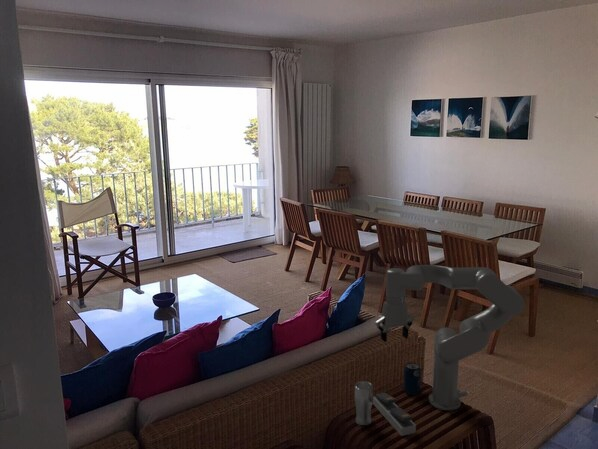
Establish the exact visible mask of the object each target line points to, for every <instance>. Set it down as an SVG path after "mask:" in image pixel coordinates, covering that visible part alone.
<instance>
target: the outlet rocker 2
mask: <svg viewBox="0 0 598 449" xmlns="http://www.w3.org/2000/svg"><path fill="white" fill-rule="evenodd" d="M390 412H391V413H392V414H394V415H395V416H396V417H398V418H399V419H400V420H402V421H403V422H405V421H410V420H411V421H413V420H414V416H413V415H411V414H410V413H408V412H407V411H405V410H404V409H403V408H401V407H400V406H398V407H397V408H392V409H390Z"/></svg>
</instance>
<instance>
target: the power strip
mask: <svg viewBox="0 0 598 449" xmlns="http://www.w3.org/2000/svg"><path fill="white" fill-rule="evenodd" d="M372 405H374V407H375V408H376V409H377V411H379V413H380V414H382V415H383V417H384V418H385V420H386V421H387V422H388V423H389V424H390V425H391V426H392V428H393V429H395V431H396V432H397V433H398V434H399V435H400V436H401V437H403V436H409V435H412V434H416V432H417V425H416V424H415V423H414V422H413V420H410V421H405V422H403V421H402V420H400V419H399V418H398V417H396V416H395V415H394V414H392V413H391V412H390V409H392V408H397V407H399V406H398V405H397V404H396V402H395V403H390V404H387V403H385V402H383V401H382V400H380V399H378V398H376V395H375V396H373V401H372Z"/></svg>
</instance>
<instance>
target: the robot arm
mask: <svg viewBox="0 0 598 449" xmlns="http://www.w3.org/2000/svg"><path fill="white" fill-rule="evenodd" d="M385 276H386V277H385V281H386V282H385V301H383V305H382V309H381V316H380V318H379V319H378V320H376V321H375V322H374V323H375V326H376V328H377V329H378V330H379V331H380V339H381V340H382V341H383V342H384V343H386V342H387V341H388V340H387V339H388V338H387V336H388V335H387V334H388V333H387V330H388V329H389V328H390V329H391V328H397V327H399V328H400V327H402V333H401V334H402V337H403V338H405V339H406V340H407V339H409V338H408V337H409V330H410V327H411V326H412V325H413V322H414V320H415V317H414V316H413V315H410V314H409V313H408V306H407V301H406V299H407V298H408V295H407V294H406V290H411V291H419V290H422V289H423V288H424V287H425V285H426V283H433V284H438V285H441V286H444V287H446V288H448V289H450V290H478V292H479V293H480V294H481V295H482V296H483V297H484V298H486V300H488V301H489V302H490V303H491V305H490V306H489V307H488V308H487V309H484V310H483V311H481V312H479V313H477V314H476V313H475V315H472V316H470V317H468V318H466V319H463V321H462V322H461V323H460V324H459V332H458V333H457V332H456V330H454V329H452V328H450V327H441V328H439V329H438V330H437V331H436V332H435V334H434V337H433V338H434V339H433V373H432V374H433V379H432V393H430V394H429V396H428V403H429V404H430V405H431V406H432V407H434V408H435V409H438V410H442V411H454V410H458V409H460V407H461V404H462V402H461V398H462V397H463V398H464V397H467V396H468V393H467V391H466V390H464V391H461V390H460V389H458V382H459V380H458V378H459V361H462V360H464V359H466V358H468V357H470V356H473V355H475V354H477V353H479V352H480V351H482V350H483V349H485V348H487V346H488V344H489V338H490V336H489V334H492V333H494V332H496V331H498V330H500V329H502V328H503V327H504V326H506V325H507V324H508V323H509V321H510V320H511V319H512V317H513V316H518V315H520V314H521V313H522V312H523V311H524V309H525V302H524V299H523V298H522V296H521V295H520V293H519V292H518V290H517V289H515V287H513V286H511V285H509V284H506V283H505V282H503V281H502V280H501V279H500V278H499V277H498V276H497V274H496V273H495V271H494V270H493V269H491V268H489V267H484V266H483V267H482V266H479V267H476V266H475V267H473V266H472V267H468V266H467V267H452V266H451V267H450V266H443V265H437V264H435V265H434V264H415V265H411V266H410V267H408V268H407V269H406V271H405V270H404V269H402V268H397V267H392V268H388V269H387V270H386V273H385Z"/></svg>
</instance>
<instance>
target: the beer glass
mask: <svg viewBox="0 0 598 449" xmlns="http://www.w3.org/2000/svg"><path fill="white" fill-rule="evenodd" d="M373 392H374V390H373V384H372V383H371V382H370V381H365V380H361V381H358V382H356V383H355V384H354V404H355V409H356V417H355V423H356V424H357V425H358V426H361V425H367V426H369V424H370V425H372V414H371V411H372V406H373V397H374V393H373Z"/></svg>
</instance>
